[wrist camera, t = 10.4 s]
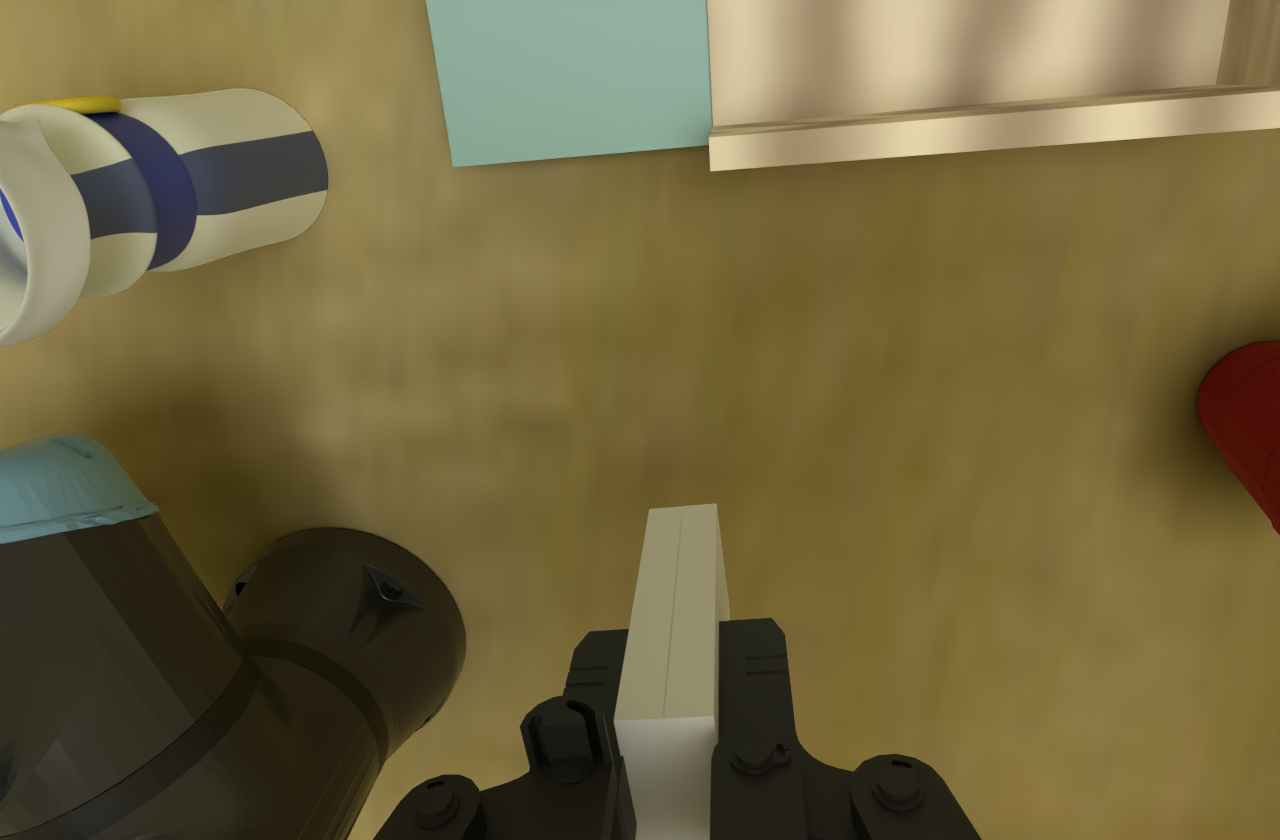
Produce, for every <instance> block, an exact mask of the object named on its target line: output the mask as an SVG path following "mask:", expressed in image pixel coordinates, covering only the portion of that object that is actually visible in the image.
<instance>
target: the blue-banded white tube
mask: <svg viewBox="0 0 1280 840" xmlns="http://www.w3.org/2000/svg"><path fill="white" fill-rule="evenodd" d="M327 189H328V172H327V165H326V161H325V157H324V153H323V151H322V148H321V146H320V143H319V141H318V139H317V137H316V135H315V134H314V132H313V130H312V129H311V128H310V126H309V125H308V123H307V122H306V121H305V120H304V119H303V117H302V116H301V115H300V114H299V113H298V112H297V111H295V110H294V109H293V108H292V107H291V106H289V105H288V104H287V103H285V102H284V101H282V100H281V99H279V98H277V97H275V96H273V95H271V94H268V93H265V92H262V91H259V90H254V89H246V88H233V89H226V90H219V91H212V92H204V93H196V94H187V95H175V96H161V97H143V98H131V99H123V100H119V99H118V98H117V97H115V96H89V97H76V98H65V99H55V100H46V101H38V102H31V103H24V104H19V105H15V106H14V107H13V109H11V110H9V111H7V112H5V113H3V114H1V115H0V347H4V346H8V345H12V344H16V343H20V342H24V341H27V340H30V339H33V338H36V337H38V336H40V335H42V334H44V333H46V332H48V331H49V330H51V329H52V328H54V327H55V326H56V325H58V324H59V323H60V322H61V321H62V320H63V319H64V318H65V317H66V316H67V315H68V313H69V312H70V311H71V310H72V308H73V307H74V305H75V303H76V302H77V300H78V298H79V297H83V298H98V297H105V296H109V295H113V294H116V293H119V292H121V291H123V290H125V289H127V288H129V287H130V286H132V285H133V284H134V283H135V282H137V281H138V280H139V279H140V278H141V276H142V275H143V274H144V273H145V271H148V272H173V271H179V270H184V269H189V268H193V267H196V266H199V265H203V264H206V263H209V262H212V261H215V260H218V259H221V258H224V257H227V256H230V255H233V254H236V253H239V252H243V251H246V250H250V249H254V248H257V247H261V246H265V245H269V244H274V243H278V242H282V241H286V240H289V239H292V238H294V237H296V236H298V235H300V234H302V233H303V232H305V231H306V230H307V229H308V228H309V227H310V226H311V225H312V224H313V223H314V222H315V221H316V219H317V218H318V216H319V214H320V213H321V211H322V208H323V206H324V203H325V200H326V195H327Z"/></svg>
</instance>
